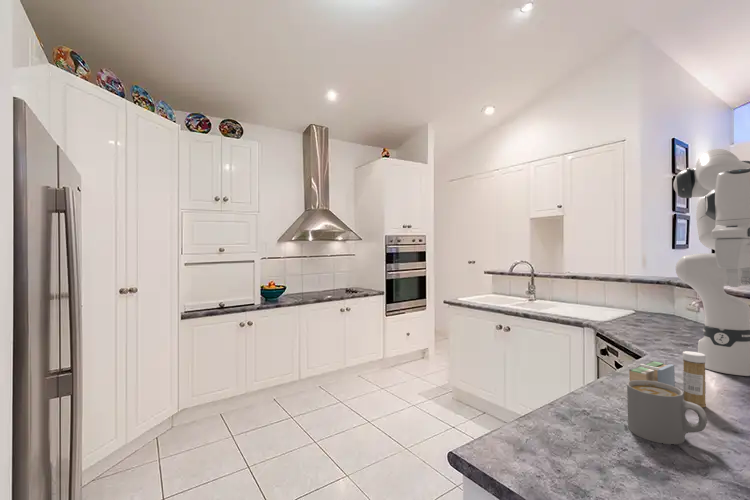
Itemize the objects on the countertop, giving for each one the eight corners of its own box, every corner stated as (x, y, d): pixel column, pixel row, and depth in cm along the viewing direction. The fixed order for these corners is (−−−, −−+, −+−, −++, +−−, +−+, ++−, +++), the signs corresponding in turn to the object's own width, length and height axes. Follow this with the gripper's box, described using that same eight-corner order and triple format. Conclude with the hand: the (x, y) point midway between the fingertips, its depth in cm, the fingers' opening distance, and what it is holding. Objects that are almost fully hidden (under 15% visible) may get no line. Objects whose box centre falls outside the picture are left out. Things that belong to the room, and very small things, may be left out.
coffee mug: (620, 430, 81) (619, 386, 81) (638, 418, 87) (637, 376, 87) (698, 457, 70) (696, 406, 70) (712, 441, 76) (711, 394, 76)
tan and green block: (652, 385, 108) (651, 361, 108) (668, 389, 104) (668, 364, 104) (629, 395, 100) (629, 369, 100) (646, 400, 97) (645, 373, 97)
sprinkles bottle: (709, 406, 93) (709, 354, 93) (701, 409, 91) (701, 356, 91) (687, 399, 97) (687, 349, 97) (679, 403, 95) (679, 352, 95)
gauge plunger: (654, 388, 105) (653, 358, 105) (675, 393, 100) (674, 362, 101) (640, 394, 100) (639, 364, 100) (661, 400, 96) (660, 368, 96)
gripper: (735, 232, 100) (737, 282, 100) (708, 231, 89) (710, 287, 89) (768, 231, 95) (770, 283, 95) (744, 230, 84) (745, 289, 84)
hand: (740, 285), depth 92 cm, fingers open, 8 cm apart
